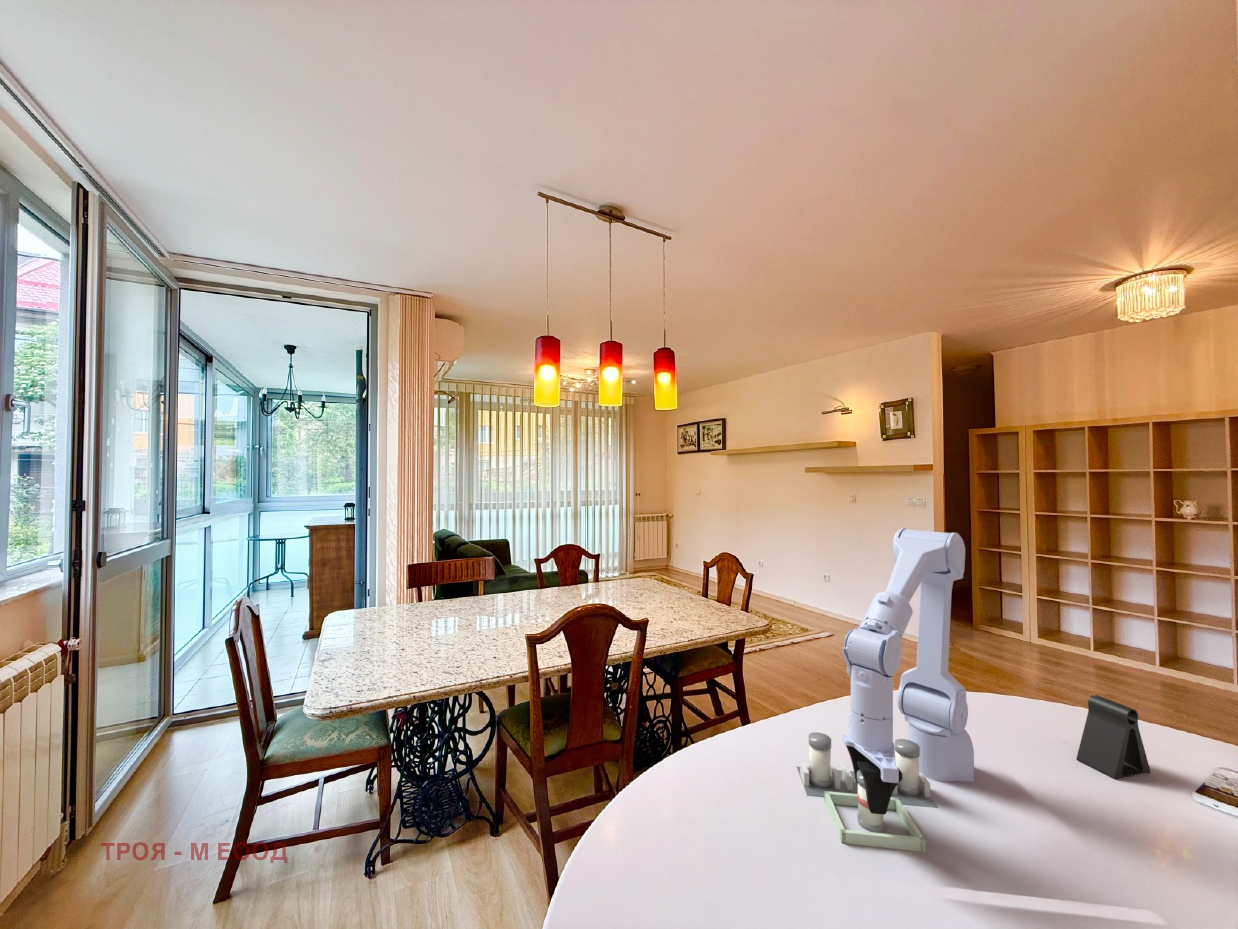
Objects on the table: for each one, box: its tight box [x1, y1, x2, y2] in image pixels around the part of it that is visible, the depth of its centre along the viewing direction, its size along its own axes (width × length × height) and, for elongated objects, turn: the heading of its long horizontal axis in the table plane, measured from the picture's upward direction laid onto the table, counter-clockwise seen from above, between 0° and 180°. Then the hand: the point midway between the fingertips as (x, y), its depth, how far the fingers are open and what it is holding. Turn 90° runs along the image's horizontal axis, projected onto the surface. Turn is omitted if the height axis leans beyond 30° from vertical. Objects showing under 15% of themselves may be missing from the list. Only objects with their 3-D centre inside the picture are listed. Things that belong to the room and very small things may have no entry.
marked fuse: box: [857, 770, 885, 833], centre depth 75 cm, size 4×4×8 cm
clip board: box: [796, 762, 939, 809], centre depth 84 cm, size 20×8×3 cm, turn 82°
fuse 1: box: [808, 731, 832, 789], centre depth 85 cm, size 4×4×8 cm
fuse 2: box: [894, 738, 920, 797], centre depth 83 cm, size 4×4×8 cm
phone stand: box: [1076, 694, 1151, 780], centre depth 92 cm, size 9×6×12 cm, turn 103°
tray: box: [823, 791, 927, 853], centre depth 75 cm, size 11×9×3 cm
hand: (871, 801), depth 75 cm, fingers open, 4 cm apart
